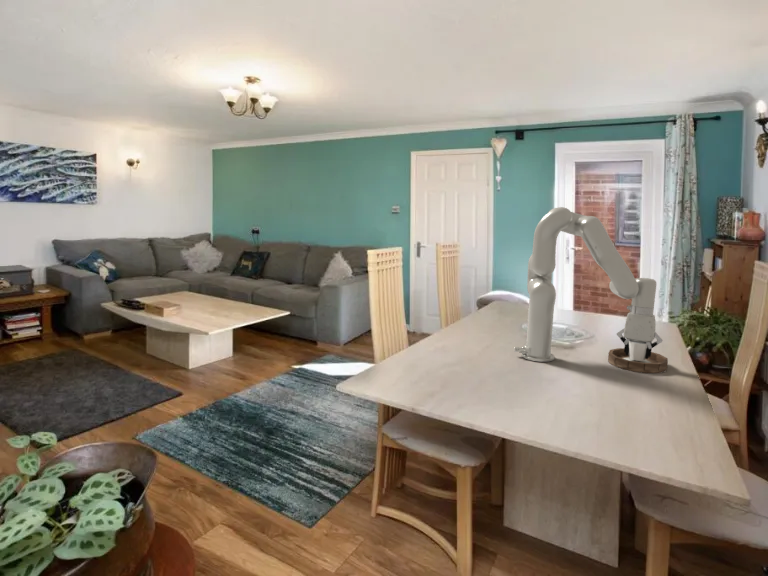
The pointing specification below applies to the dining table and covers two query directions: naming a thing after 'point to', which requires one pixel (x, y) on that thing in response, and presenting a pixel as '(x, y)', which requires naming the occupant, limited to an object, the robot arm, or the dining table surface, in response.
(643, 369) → the round wooden tray
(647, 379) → the dining table surface
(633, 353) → the white cup
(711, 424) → the dining table surface
